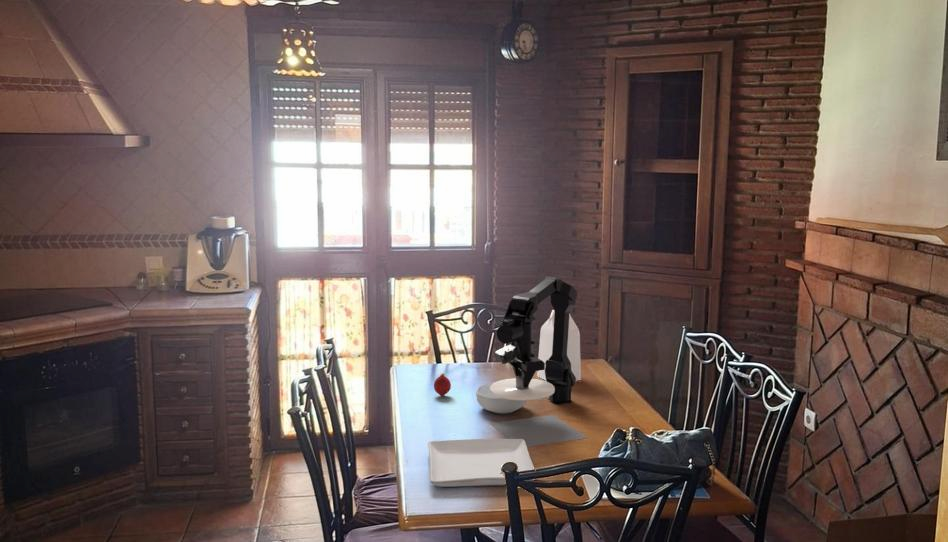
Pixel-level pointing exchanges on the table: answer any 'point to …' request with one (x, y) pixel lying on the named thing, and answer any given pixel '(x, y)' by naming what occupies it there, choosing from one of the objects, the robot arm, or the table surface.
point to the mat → (538, 430)
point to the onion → (442, 385)
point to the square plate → (475, 461)
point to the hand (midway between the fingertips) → (522, 385)
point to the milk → (572, 345)
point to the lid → (522, 389)
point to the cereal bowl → (496, 401)
